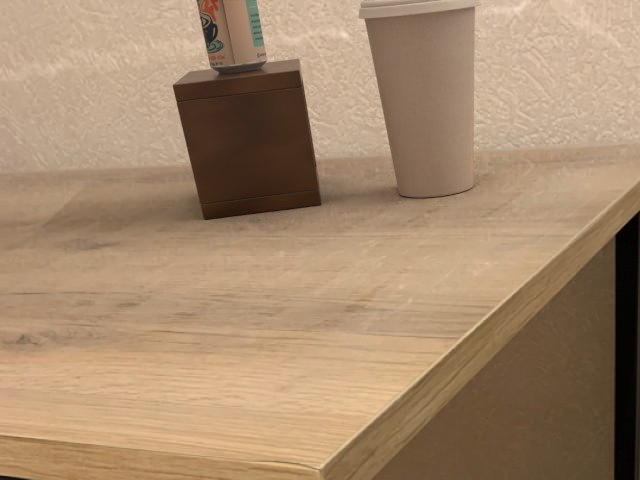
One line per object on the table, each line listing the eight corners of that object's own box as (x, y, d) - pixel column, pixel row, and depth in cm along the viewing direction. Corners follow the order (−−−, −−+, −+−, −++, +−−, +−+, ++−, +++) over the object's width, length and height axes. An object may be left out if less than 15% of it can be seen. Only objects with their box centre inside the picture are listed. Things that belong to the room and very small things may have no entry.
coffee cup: (513, 184, 76) (503, -31, 68) (419, 207, 72) (395, -19, 64) (450, 173, 83) (434, -24, 74) (361, 193, 79) (332, -13, 71)
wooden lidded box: (203, 219, 76) (172, 84, 70) (215, 191, 87) (188, 71, 81) (321, 204, 77) (299, 69, 71) (318, 178, 87) (299, 58, 82)
